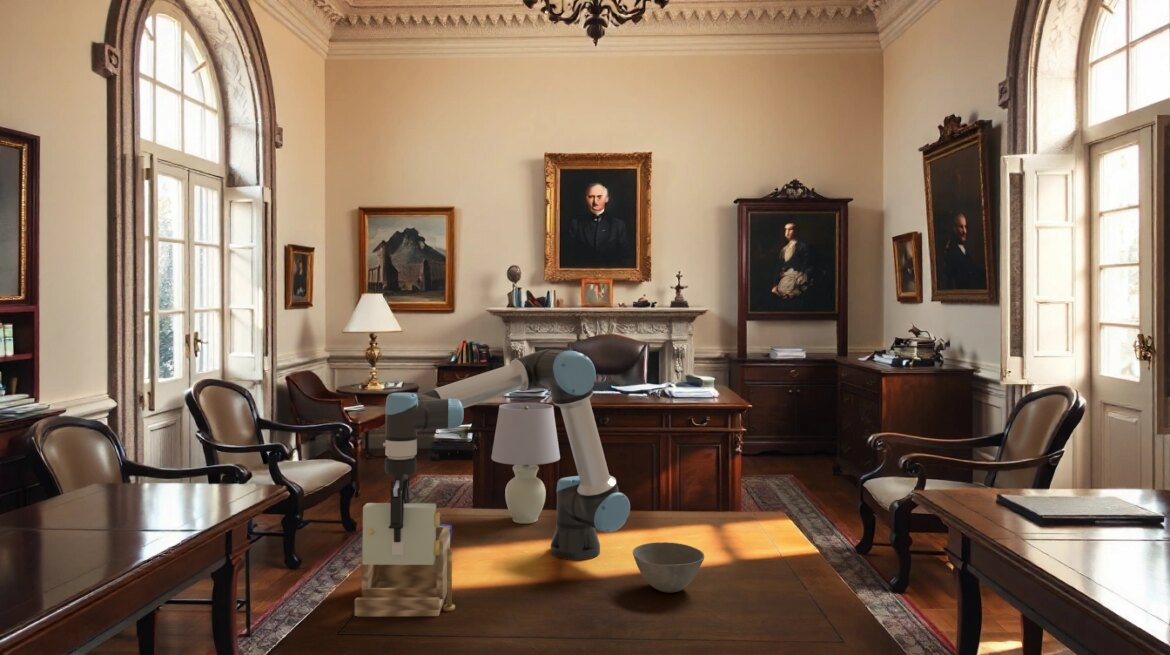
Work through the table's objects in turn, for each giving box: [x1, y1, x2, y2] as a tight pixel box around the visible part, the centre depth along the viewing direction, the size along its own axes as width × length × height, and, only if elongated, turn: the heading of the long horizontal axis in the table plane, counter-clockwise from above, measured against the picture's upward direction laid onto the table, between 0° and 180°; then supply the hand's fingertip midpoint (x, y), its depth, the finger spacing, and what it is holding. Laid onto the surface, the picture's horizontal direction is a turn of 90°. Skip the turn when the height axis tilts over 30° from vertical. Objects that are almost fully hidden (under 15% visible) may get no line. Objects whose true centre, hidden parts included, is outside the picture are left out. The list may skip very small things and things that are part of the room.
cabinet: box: [354, 526, 456, 617], centre depth 199 cm, size 23×21×16 cm
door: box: [361, 502, 441, 566], centre depth 192 cm, size 18×5×14 cm, turn 93°
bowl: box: [632, 541, 705, 593], centre depth 208 cm, size 19×19×10 cm
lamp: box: [490, 402, 561, 525], centre depth 273 cm, size 24×24×40 cm
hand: (399, 551), depth 192 cm, fingers closed on door, 4 cm apart
